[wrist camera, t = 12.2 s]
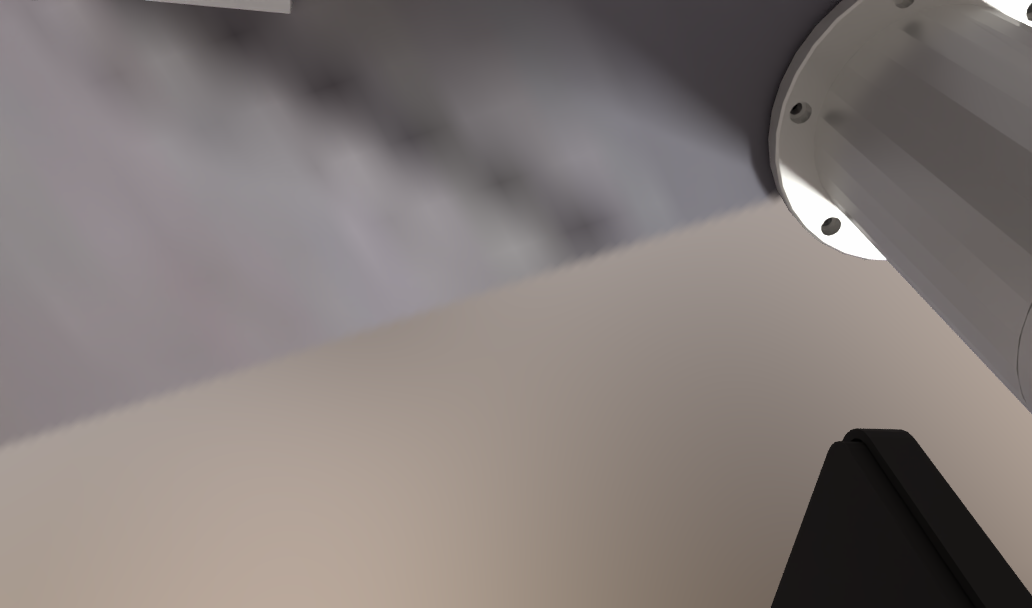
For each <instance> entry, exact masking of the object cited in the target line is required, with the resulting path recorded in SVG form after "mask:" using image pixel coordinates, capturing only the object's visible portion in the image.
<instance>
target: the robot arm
mask: <svg viewBox="0 0 1032 608" xmlns="http://www.w3.org/2000/svg"><path fill="white" fill-rule="evenodd" d="M797 103H798V106H797V107H796V109H794V110H792V108H793V106H795V105H796V104H797ZM791 110H792V111H791ZM768 143H769V157H770V167H771V170H772V174H773V177H774V181H775V184H776V187H777V190H778V192H779V194H780V196H781V197H782V199H783V201H784V203H785V204H786V206H787V208H788V210H789V211H790V212H791V213H792V214H793V215H794V217H795V218H796V219H797V220H798V222H799V223H800V224H801V225H802V227H803V228H804V229H805V230H807V231H808V232H809V233H810V234H811V235H812V236H813V237H814V238H816V239H817V240H818V241H820V242H821V243H823V244H825V245H827V246H829V247H831V248H833V249H835V250H837V251H839V252H841V253H843V254H847V255H851V256H854V257H858V258H862V259H866V260H883V261H888V262H889V263H890V264H891V265H892V266H893V267H894V268H895V269H896V270H897V271H898V272H899V273H900V274H901V276H902V277H903V278H904V279H905V280H906V281H907V282H908V283H909V284H910V285H911V286H912V287H913V288H914V289H915V290H916V291H917V293H918V294H919V295H920V296H921V297H922V298H923V299H924V300H925V301H926V302H927V303H928V304H929V305H930V306H931V307H932V309H933V310H935V312H936V313H937V314H938V315H939V316H940V317H941V318H942V319H943V320H944V321H945V322H946V323H947V325H949V327H950V328H951V329H952V330H953V331H954V332H955V333H956V334H957V335H958V336H959V337H960V338H961V339H962V340H963V342H965V344H966V345H967V346H968V347H969V348H970V349H971V350H972V351H973V352H974V353H975V354H976V355H977V356H978V357H979V359H981V361H982V362H983V363H984V364H985V365H986V366H987V367H988V368H989V369H990V370H991V371H992V372H993V373H994V374H995V376H996V377H997V378H998V379H999V380H1000V381H1001V382H1002V383H1003V384H1004V385H1005V386H1006V387H1007V388H1008V389H1009V390H1010V391H1011V393H1012V394H1014V396H1015V397H1016V398H1017V399H1018V400H1019V401H1020V402H1021V403H1022V404H1023V405H1024V406H1025V407H1026V408H1027V410H1028V411H1029V412H1030V413H1031V414H1032V0H842V1H841V2H840V3H839V4H838V5H837V6H836V7H835V8H834V9H833V10H832V11H831V12H830V13H829V14H827V15H826V16H825V17H824V18H823V19H822V20H821V21H820V22H819V23H818V24H817V25H816V26H815V28H814V29H813V30H812V32H811V33H810V35H809V36H808V37H807V39H806V40H805V41H804V43H803V44H802V45H801V47H800V48H799V49H798V51H797V52H796V54H795V56H794V58H793V59H792V61H791V63H790V65H789V67H788V69H787V71H786V73H785V75H784V77H783V79H782V81H781V83H780V86H779V90H778V93H777V96H776V99H775V102H774V105H773V109H772V113H771V121H770V129H769V137H768ZM771 608H1032V596H1031V594H1030V593H1029V591H1028V590H1027V589H1026V587H1025V586H1024V585H1023V583H1022V582H1021V581H1020V579H1019V578H1018V577H1017V575H1016V574H1015V573H1014V571H1013V570H1012V569H1011V567H1010V566H1009V565H1008V563H1007V562H1006V561H1005V559H1004V558H1003V556H1002V555H1001V554H1000V552H999V551H998V550H997V548H996V547H995V546H994V544H993V543H992V542H991V540H990V539H989V538H988V536H987V535H986V534H985V532H984V531H983V530H982V528H981V527H980V526H979V524H978V523H977V522H976V520H975V519H974V518H973V516H972V515H971V514H970V512H969V511H968V510H967V508H966V507H965V506H964V504H963V503H962V502H961V500H960V499H959V498H958V496H957V495H956V494H955V492H954V491H953V490H952V488H951V487H950V486H949V484H948V483H947V482H946V480H945V479H944V478H943V476H942V475H941V473H940V472H939V471H938V469H937V468H936V467H935V466H934V464H933V463H932V461H931V460H930V459H929V457H928V456H927V455H926V453H925V452H924V451H923V449H922V448H921V447H920V445H919V444H918V443H917V441H916V440H915V439H914V438H913V437H912V436H911V435H910V434H909V433H908V432H906V431H904V430H895V429H853V430H850V432H848V433H847V434H846V435H845V437H844V439H843V441H838V442H835V443H834V444H832V445H831V447H830V449H829V451H828V453H827V456H826V459H825V461H824V464H823V467H822V469H821V472H820V475H819V478H818V481H817V483H816V486H815V488H814V491H813V494H812V497H811V499H810V502H809V505H808V508H807V510H806V513H805V516H804V518H803V521H802V524H801V527H800V530H799V532H798V535H797V538H796V540H795V543H794V546H793V548H792V551H791V554H790V557H789V559H788V562H787V565H786V568H785V570H784V573H783V576H782V579H781V581H780V584H779V587H778V590H777V592H776V595H775V598H774V601H773V603H772V606H771Z"/></svg>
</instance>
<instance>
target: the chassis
mask: <svg viewBox="0 0 1032 608" xmlns="http://www.w3.org/2000/svg"><path fill="white" fill-rule="evenodd" d="M147 1H158V2H169V3H179V4H190V5H201V6H211V7H222V8H233V9H244V10H254V11H265V12H276V13H286V14H290V13H291V9H292V5H293V0H147Z"/></svg>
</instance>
